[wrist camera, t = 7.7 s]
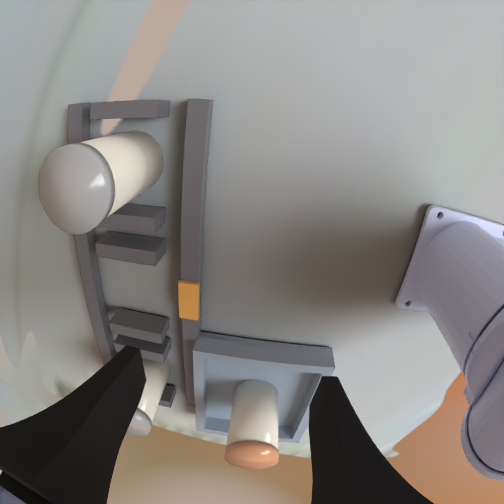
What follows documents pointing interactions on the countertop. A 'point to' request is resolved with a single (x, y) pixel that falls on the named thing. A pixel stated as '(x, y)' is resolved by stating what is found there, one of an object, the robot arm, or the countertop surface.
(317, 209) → the countertop surface
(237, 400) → the cylinder
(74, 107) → the clip rail
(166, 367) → the fuse
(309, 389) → the tray
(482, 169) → the countertop surface
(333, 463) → the robot arm
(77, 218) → the cream capsule cylinder
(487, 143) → the countertop surface
